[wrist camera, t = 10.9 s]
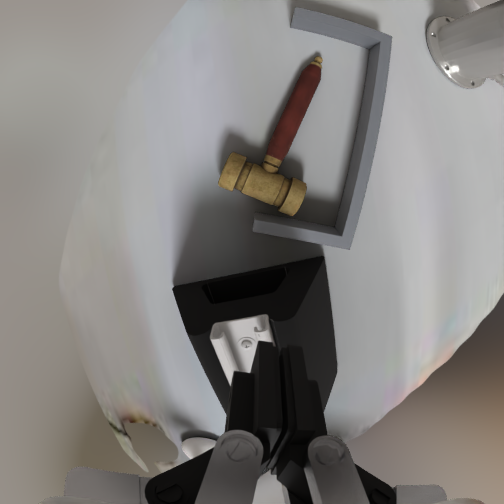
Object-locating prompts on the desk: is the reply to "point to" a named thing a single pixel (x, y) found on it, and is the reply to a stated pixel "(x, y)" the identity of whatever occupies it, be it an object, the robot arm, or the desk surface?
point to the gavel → (276, 153)
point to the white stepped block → (268, 490)
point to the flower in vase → (197, 446)
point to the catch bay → (363, 141)
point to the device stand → (261, 321)
